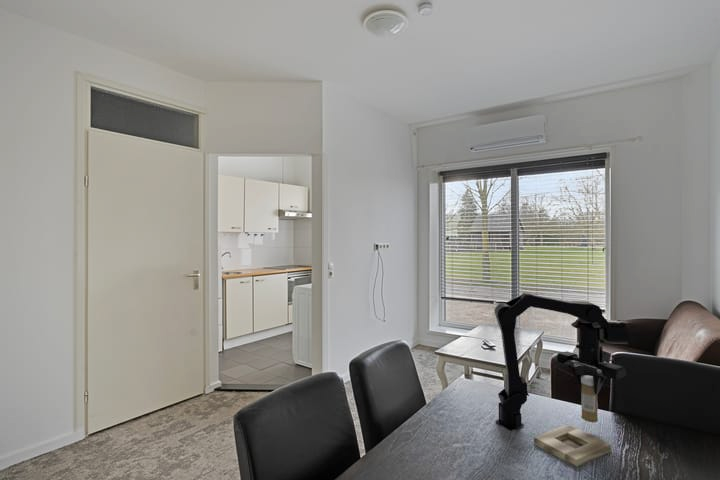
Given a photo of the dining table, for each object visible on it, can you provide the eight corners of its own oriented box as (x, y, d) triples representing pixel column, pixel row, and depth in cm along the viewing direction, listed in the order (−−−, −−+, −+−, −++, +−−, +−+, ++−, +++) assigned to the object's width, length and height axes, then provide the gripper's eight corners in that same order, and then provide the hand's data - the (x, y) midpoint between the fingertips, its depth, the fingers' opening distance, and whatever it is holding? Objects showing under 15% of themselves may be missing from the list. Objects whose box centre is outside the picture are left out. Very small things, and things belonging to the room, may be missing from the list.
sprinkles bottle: (600, 420, 116) (600, 378, 116) (593, 424, 113) (593, 381, 114) (585, 414, 120) (585, 373, 120) (578, 418, 117) (578, 376, 117)
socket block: (533, 443, 110) (533, 437, 110) (567, 430, 117) (567, 424, 117) (576, 467, 98) (576, 459, 98) (610, 451, 106) (610, 444, 106)
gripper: (635, 346, 112) (635, 397, 112) (575, 332, 129) (575, 377, 129) (615, 351, 107) (615, 404, 107) (555, 336, 124) (555, 382, 123)
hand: (589, 391), depth 117 cm, fingers closed on sprinkles bottle, 4 cm apart
